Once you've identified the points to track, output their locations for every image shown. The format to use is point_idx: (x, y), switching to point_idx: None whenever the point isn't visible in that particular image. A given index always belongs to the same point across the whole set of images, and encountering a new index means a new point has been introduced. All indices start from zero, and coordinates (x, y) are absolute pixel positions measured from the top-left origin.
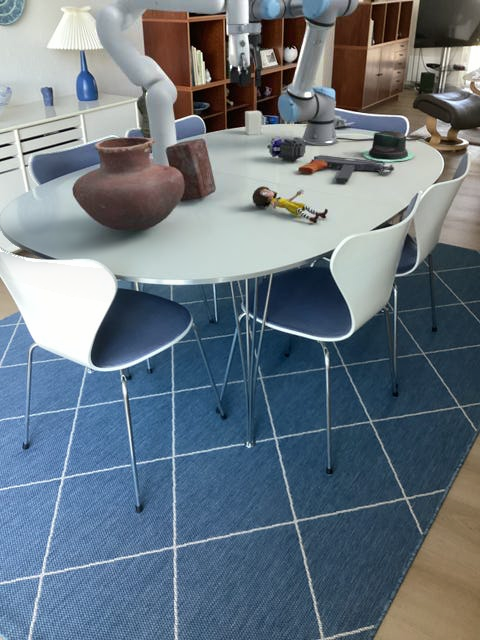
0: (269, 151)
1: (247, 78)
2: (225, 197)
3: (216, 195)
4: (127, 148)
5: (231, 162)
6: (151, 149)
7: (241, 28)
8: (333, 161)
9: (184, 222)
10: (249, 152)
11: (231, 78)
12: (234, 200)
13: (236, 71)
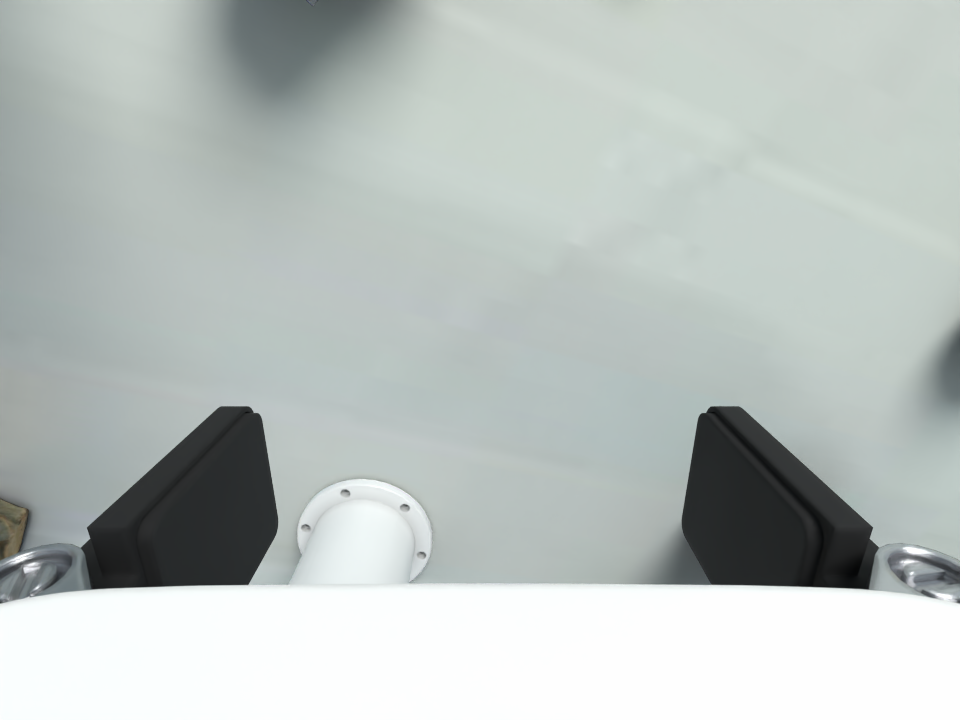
0: (311, 1)
1: (805, 466)
2: (799, 414)
3: None
4: None
5: (294, 242)
6: (15, 543)
7: None
8: None
9: None
10: (88, 68)
11: (250, 570)
12: (851, 394)
13: (169, 576)
